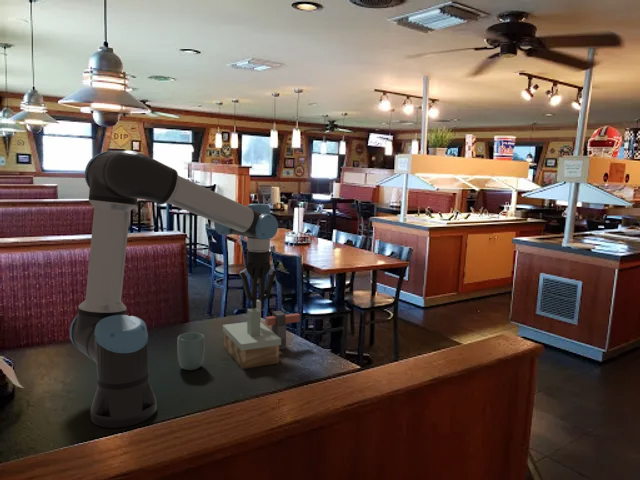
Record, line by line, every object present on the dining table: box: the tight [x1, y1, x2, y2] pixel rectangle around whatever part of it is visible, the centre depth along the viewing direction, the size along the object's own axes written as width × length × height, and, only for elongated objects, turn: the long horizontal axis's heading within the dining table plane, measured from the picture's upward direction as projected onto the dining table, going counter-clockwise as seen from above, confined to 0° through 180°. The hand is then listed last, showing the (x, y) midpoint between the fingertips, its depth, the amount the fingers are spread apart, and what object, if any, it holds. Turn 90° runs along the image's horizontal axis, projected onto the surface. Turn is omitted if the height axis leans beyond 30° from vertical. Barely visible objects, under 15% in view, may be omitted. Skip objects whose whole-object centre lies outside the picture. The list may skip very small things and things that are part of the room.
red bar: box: [264, 312, 301, 327], centre depth 169 cm, size 2×12×2 cm, turn 117°
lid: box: [222, 308, 281, 351], centre depth 160 cm, size 21×13×12 cm, turn 27°
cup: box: [176, 332, 205, 371], centre depth 149 cm, size 8×8×10 cm
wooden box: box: [223, 310, 287, 370], centre depth 162 cm, size 20×19×12 cm
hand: (257, 319), depth 165 cm, fingers closed
